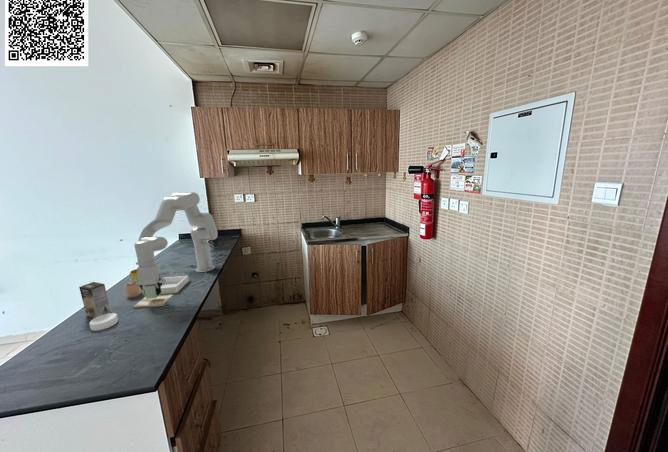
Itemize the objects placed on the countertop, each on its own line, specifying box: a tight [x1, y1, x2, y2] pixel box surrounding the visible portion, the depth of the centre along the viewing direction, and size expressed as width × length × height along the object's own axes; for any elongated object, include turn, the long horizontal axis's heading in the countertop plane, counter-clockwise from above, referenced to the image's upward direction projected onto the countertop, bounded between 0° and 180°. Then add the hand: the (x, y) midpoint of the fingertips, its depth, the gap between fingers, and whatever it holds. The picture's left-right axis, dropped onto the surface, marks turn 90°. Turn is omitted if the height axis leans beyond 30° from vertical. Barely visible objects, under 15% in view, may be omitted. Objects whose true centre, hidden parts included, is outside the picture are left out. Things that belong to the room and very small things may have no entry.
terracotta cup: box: [124, 280, 143, 299], centre depth 152 cm, size 7×7×8 cm
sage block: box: [143, 284, 162, 299], centre depth 144 cm, size 5×5×7 cm
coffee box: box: [78, 281, 111, 319], centre depth 132 cm, size 9×6×16 cm
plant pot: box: [129, 268, 138, 281], centre depth 168 cm, size 10×10×10 cm
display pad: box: [132, 293, 175, 309], centre depth 145 cm, size 12×15×1 cm
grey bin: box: [159, 275, 190, 295], centre depth 160 cm, size 17×17×4 cm
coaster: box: [89, 312, 119, 332], centre depth 124 cm, size 10×10×4 cm
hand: (153, 294), depth 144 cm, fingers closed on sage block, 5 cm apart
